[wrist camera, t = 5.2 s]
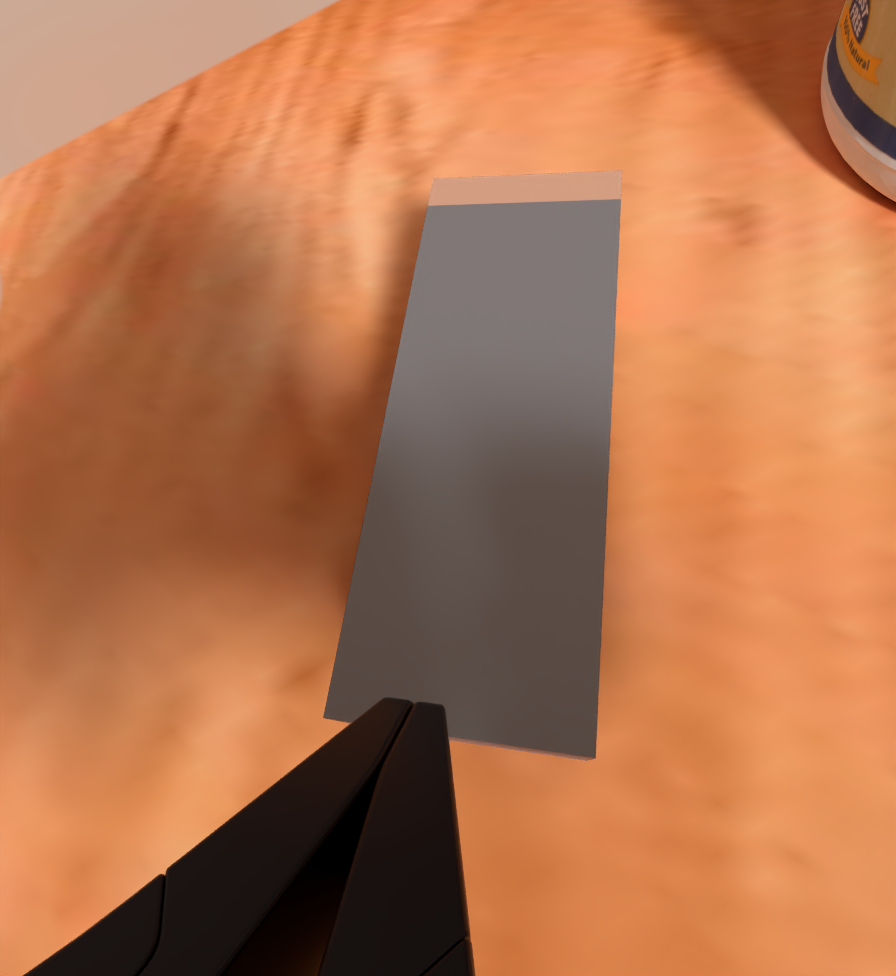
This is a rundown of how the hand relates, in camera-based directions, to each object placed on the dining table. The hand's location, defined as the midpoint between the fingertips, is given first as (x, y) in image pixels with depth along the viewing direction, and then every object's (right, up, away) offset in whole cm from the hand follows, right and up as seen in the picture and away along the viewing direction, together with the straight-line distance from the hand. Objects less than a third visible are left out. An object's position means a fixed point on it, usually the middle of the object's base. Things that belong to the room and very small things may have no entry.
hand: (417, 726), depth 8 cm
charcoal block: (+1, -2, +5) cm, 6 cm away
